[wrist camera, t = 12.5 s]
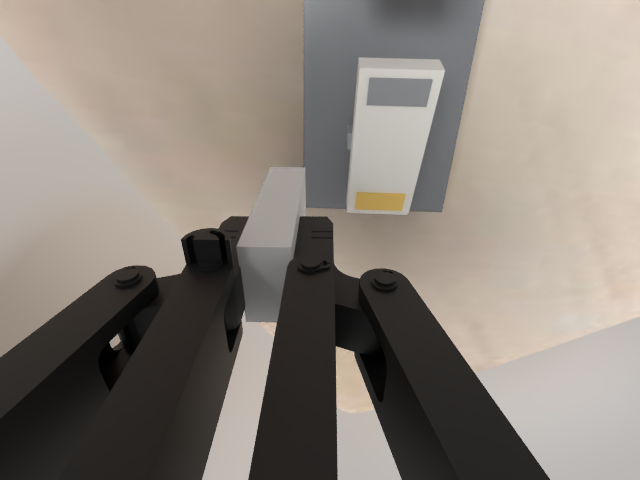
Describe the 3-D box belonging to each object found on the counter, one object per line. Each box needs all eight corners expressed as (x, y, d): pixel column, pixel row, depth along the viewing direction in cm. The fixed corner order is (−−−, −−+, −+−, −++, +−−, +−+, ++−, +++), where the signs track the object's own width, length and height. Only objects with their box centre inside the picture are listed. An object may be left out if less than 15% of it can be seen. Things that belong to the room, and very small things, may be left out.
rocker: (358, 57, 22) (359, 69, 20) (439, 59, 22) (445, 71, 20) (346, 199, 30) (346, 214, 28) (405, 201, 30) (408, 216, 28)
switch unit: (309, -215, 23) (300, -322, 16) (506, -212, 23) (579, -319, 16) (307, 187, 36) (301, 221, 29) (432, 191, 36) (455, 226, 29)
